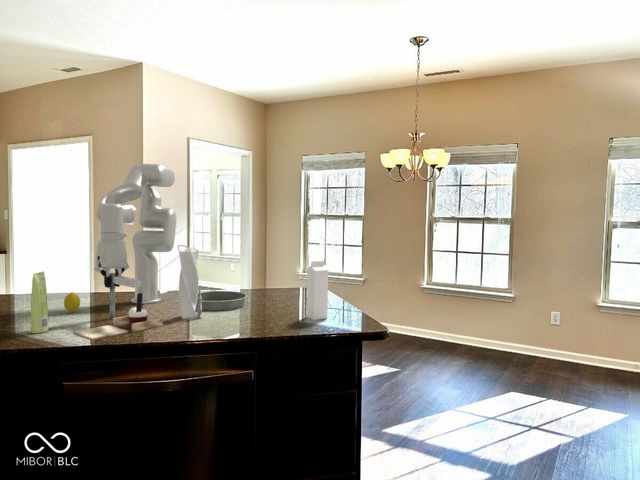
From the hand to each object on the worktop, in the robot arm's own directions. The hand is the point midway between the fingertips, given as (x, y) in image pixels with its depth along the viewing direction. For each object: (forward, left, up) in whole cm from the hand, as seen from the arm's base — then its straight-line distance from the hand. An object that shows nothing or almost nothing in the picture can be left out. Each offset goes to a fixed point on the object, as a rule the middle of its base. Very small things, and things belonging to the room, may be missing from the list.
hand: (112, 286), depth 169 cm
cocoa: (0, +17, -12) cm, 21 cm away
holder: (0, +17, -12) cm, 21 cm away
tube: (+25, +1, -12) cm, 28 cm away
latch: (0, +7, -12) cm, 14 cm away
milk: (-52, +56, -12) cm, 77 cm away
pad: (+13, +17, -12) cm, 25 cm away
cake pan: (-43, +9, -12) cm, 46 cm away
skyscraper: (-20, +19, -12) cm, 30 cm away
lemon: (+5, -21, -12) cm, 25 cm away
